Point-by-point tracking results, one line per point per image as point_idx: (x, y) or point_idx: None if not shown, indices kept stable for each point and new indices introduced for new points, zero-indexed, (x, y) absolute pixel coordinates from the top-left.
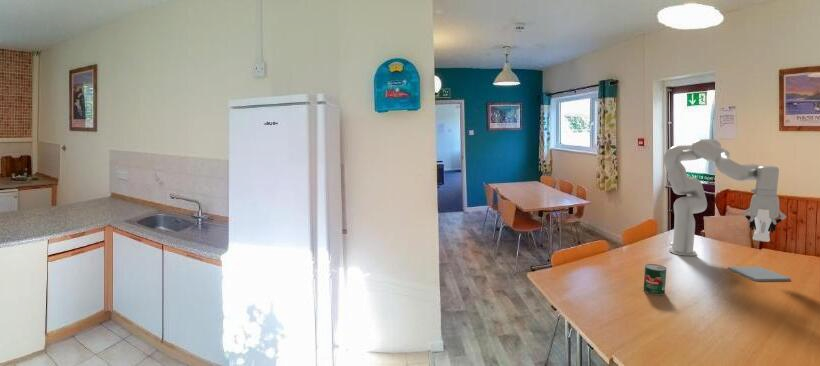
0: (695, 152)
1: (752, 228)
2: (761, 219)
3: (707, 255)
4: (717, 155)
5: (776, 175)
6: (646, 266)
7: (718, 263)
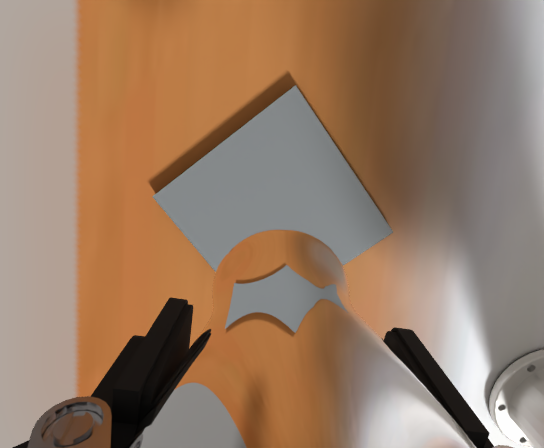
0: None
1: (407, 340)
2: (383, 416)
3: None
4: None
5: None
6: None
7: (414, 305)
